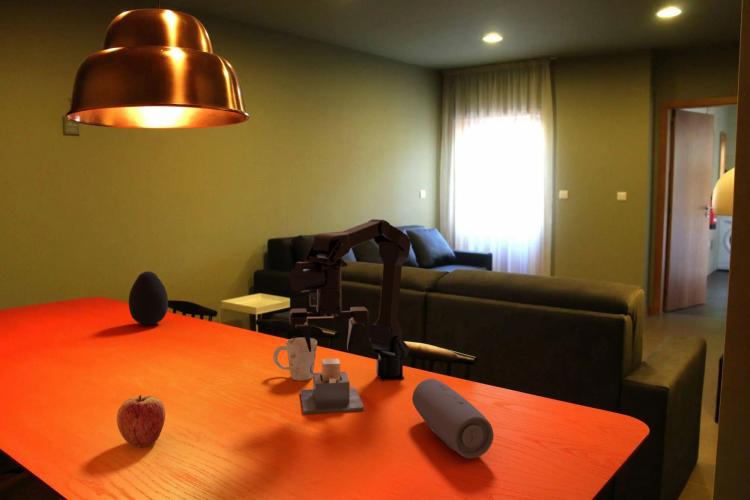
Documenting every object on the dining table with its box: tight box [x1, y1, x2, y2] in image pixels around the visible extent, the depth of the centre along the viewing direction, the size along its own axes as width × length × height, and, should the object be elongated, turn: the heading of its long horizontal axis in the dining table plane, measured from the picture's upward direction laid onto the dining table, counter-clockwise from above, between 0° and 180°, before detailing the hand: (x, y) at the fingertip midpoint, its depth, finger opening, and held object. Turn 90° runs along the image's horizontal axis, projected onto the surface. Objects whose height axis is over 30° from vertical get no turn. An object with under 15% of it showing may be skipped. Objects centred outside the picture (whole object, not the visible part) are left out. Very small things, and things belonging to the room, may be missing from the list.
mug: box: [272, 337, 318, 382], centre depth 160 cm, size 8×13×10 cm, turn 78°
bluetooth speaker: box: [411, 378, 494, 459], centre depth 121 cm, size 23×9×10 cm, turn 17°
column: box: [321, 358, 341, 381], centre depth 142 cm, size 4×4×9 cm
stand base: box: [300, 371, 365, 415], centre depth 142 cm, size 14×14×7 cm
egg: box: [128, 271, 169, 326], centre depth 217 cm, size 14×14×20 cm
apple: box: [116, 395, 166, 447], centre depth 118 cm, size 9×9×10 cm
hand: (329, 350), depth 141 cm, fingers open, 9 cm apart
